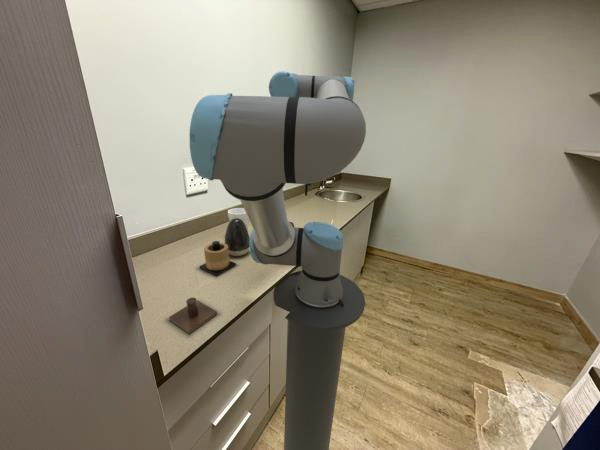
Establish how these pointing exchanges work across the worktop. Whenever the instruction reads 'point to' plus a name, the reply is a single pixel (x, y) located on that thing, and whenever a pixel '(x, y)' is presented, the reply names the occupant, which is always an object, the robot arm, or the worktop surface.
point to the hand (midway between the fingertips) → (286, 193)
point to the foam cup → (238, 215)
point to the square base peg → (217, 272)
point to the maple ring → (216, 257)
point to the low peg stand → (192, 315)
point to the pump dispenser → (237, 237)
